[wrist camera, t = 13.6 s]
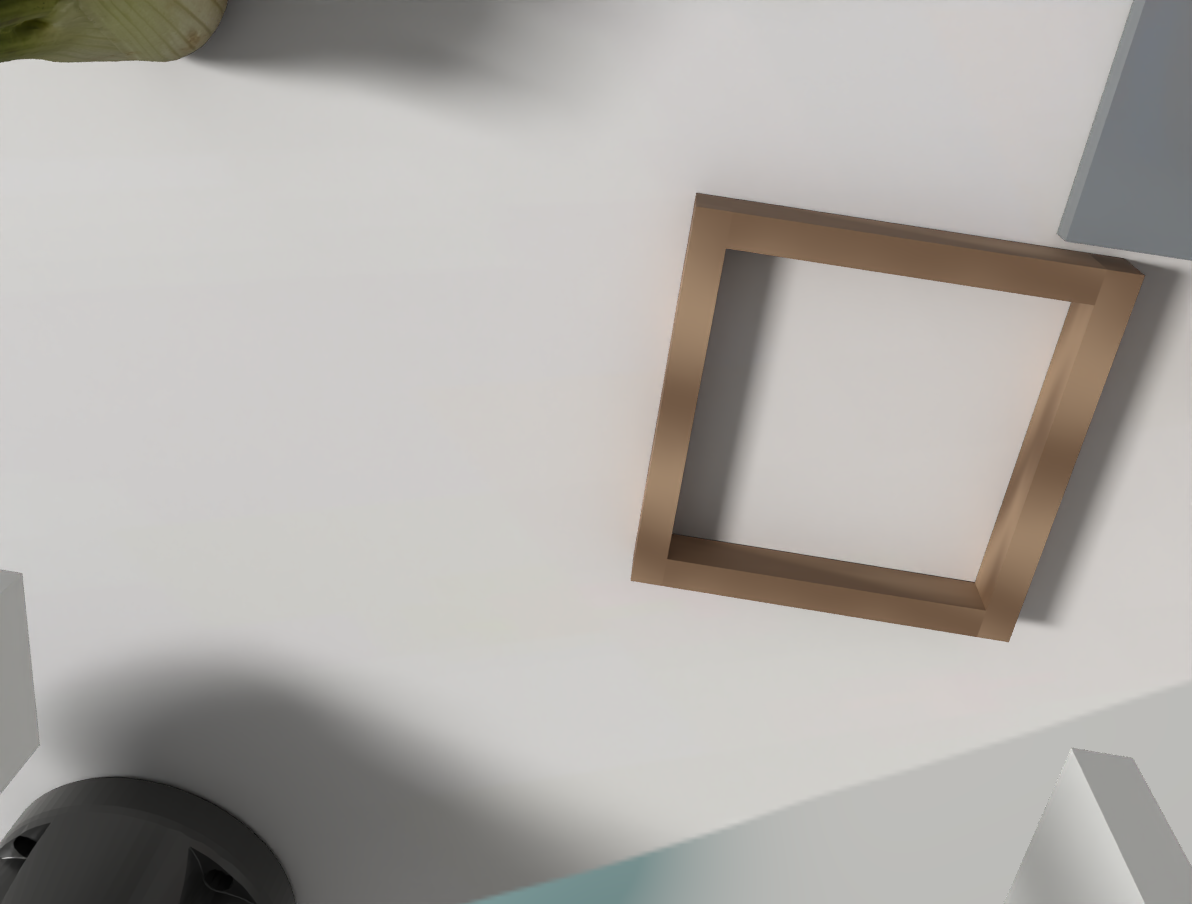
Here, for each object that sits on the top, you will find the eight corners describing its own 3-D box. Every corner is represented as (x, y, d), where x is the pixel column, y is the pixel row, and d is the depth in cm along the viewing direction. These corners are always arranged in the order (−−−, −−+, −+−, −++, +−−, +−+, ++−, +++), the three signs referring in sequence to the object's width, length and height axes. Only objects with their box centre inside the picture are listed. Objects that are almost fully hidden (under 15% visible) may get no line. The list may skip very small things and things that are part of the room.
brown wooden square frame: (996, 613, 44) (1008, 642, 43) (633, 554, 45) (630, 580, 43) (1124, 258, 38) (1145, 275, 36) (696, 193, 38) (695, 206, 36)
